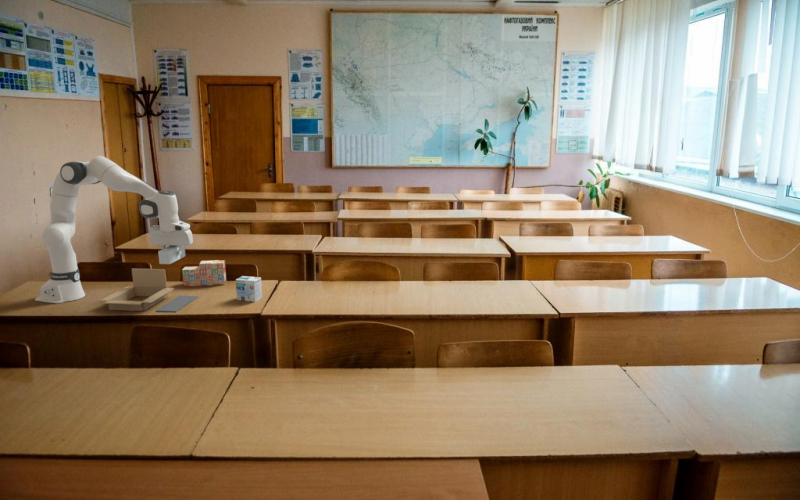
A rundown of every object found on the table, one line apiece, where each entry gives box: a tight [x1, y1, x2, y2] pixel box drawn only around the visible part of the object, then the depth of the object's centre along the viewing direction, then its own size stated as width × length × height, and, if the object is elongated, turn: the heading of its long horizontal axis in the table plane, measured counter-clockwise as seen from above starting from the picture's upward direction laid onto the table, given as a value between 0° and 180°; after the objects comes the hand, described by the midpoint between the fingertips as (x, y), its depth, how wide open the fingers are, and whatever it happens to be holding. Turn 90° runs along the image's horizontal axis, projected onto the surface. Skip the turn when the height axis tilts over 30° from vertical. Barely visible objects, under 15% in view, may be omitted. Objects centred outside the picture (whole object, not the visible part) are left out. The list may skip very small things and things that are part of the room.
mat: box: [155, 295, 199, 313], centre depth 286 cm, size 10×22×1 cm, turn 172°
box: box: [158, 245, 186, 265], centre depth 280 cm, size 5×15×8 cm, turn 172°
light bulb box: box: [235, 275, 263, 303], centre depth 291 cm, size 11×7×11 cm, turn 73°
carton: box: [99, 268, 175, 312], centre depth 286 cm, size 26×25×14 cm
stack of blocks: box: [181, 259, 227, 287], centre depth 317 cm, size 21×6×12 cm, turn 96°
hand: (172, 254), depth 281 cm, fingers closed on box, 5 cm apart
